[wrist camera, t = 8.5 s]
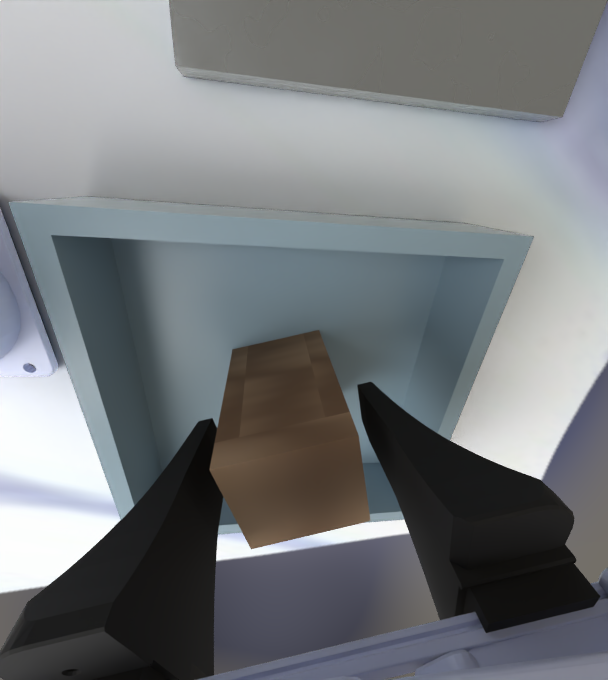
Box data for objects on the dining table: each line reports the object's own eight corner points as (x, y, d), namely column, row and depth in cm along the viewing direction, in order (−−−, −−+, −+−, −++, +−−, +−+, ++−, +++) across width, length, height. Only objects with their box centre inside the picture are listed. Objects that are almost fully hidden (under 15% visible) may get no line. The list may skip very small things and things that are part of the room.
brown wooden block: (256, 414, 17) (251, 549, 11) (232, 349, 15) (209, 469, 8) (331, 397, 17) (370, 520, 11) (318, 329, 15) (358, 435, 8)
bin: (154, 474, 19) (128, 541, 15) (86, 196, 11) (8, 201, 8) (391, 462, 21) (417, 518, 17) (464, 223, 14) (533, 236, 10)
